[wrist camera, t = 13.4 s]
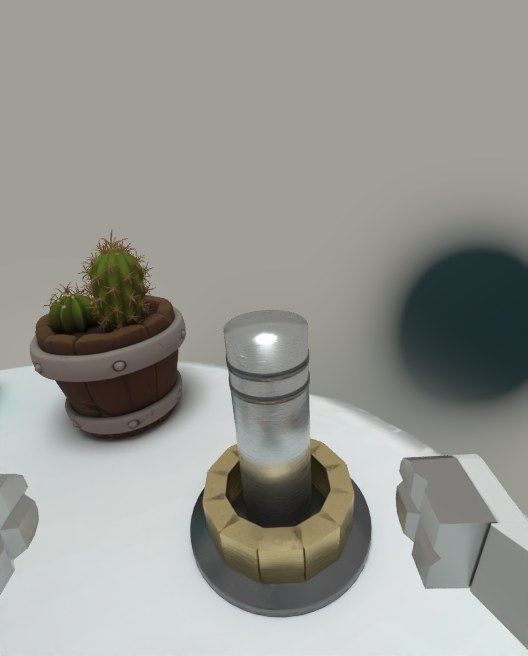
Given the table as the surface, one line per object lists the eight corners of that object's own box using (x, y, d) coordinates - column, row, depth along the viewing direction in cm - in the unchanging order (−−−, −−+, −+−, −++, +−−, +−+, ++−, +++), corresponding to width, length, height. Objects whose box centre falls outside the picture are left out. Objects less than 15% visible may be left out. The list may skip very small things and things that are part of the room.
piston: (244, 545, 25) (218, 347, 19) (246, 487, 30) (226, 312, 24) (316, 541, 25) (313, 341, 19) (308, 484, 30) (303, 307, 24)
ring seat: (174, 621, 22) (163, 580, 20) (205, 460, 34) (199, 427, 32) (396, 611, 22) (402, 569, 20) (349, 452, 34) (350, 418, 32)
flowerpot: (34, 420, 41) (-37, 238, 33) (153, 363, 52) (121, 213, 43) (95, 484, 32) (18, 254, 24) (225, 400, 42) (202, 218, 34)
